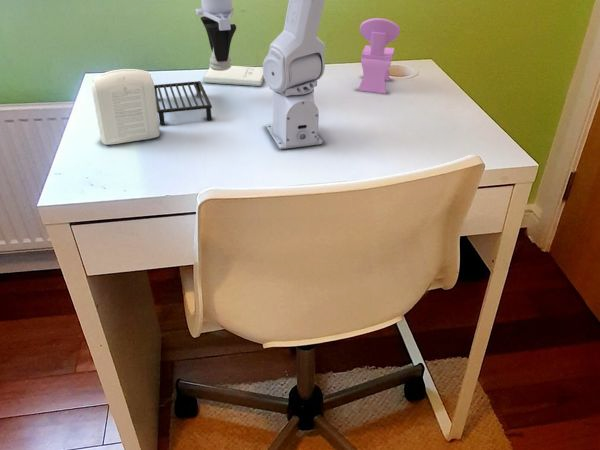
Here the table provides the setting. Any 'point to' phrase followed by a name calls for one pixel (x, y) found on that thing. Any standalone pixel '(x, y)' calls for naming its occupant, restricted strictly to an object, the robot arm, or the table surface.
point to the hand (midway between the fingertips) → (220, 57)
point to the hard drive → (236, 76)
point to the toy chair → (377, 53)
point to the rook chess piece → (219, 63)
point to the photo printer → (125, 106)
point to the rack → (198, 88)
